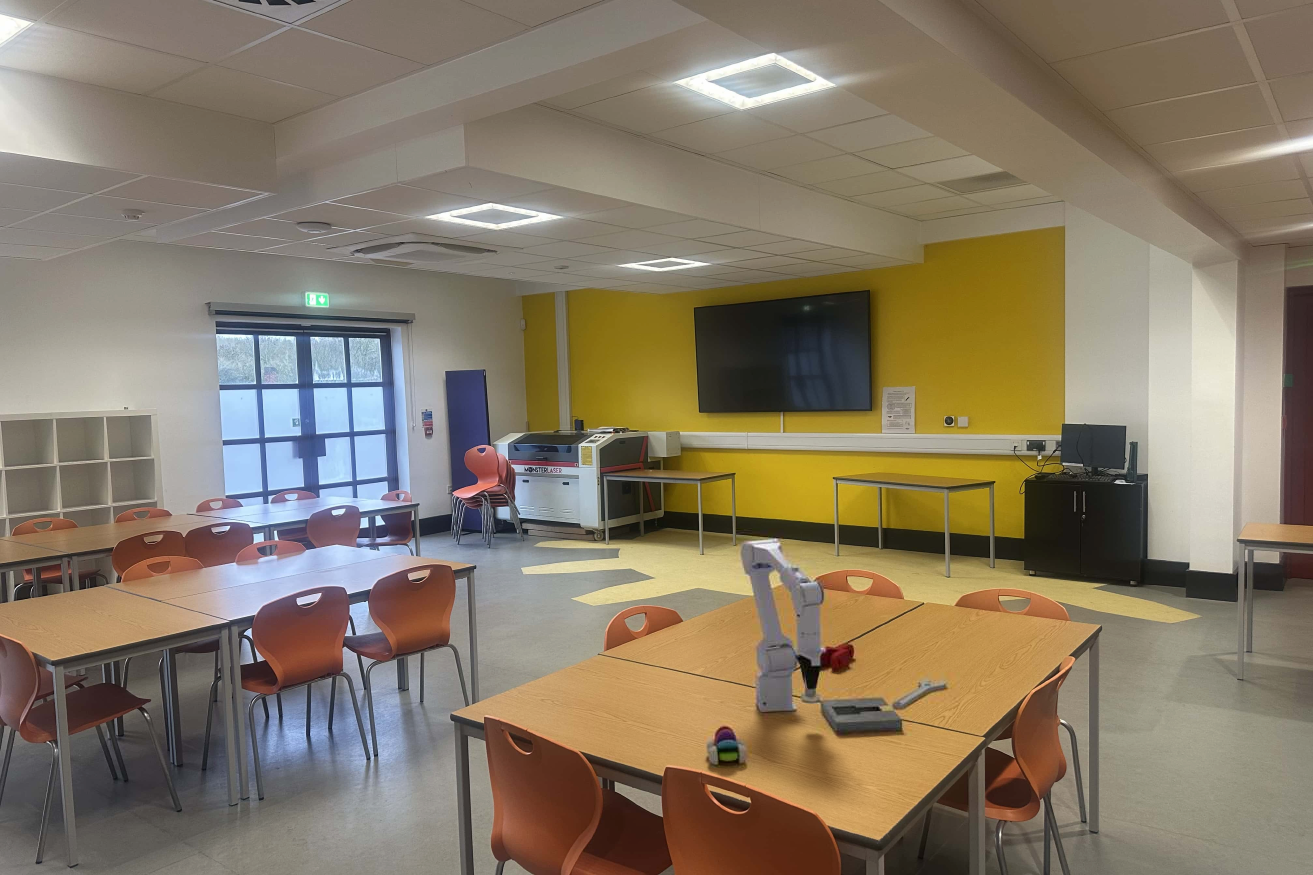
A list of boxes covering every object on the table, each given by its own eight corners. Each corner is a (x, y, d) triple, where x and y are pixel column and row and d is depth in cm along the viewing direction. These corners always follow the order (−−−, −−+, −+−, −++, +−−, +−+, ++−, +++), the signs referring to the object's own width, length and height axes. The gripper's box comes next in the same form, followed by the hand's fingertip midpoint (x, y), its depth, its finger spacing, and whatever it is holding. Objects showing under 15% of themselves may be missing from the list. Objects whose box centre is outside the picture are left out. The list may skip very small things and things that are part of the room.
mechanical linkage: (835, 672, 254) (835, 656, 254) (814, 668, 259) (814, 652, 259) (861, 659, 267) (860, 643, 266) (840, 656, 271) (840, 640, 271)
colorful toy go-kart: (742, 750, 199) (741, 719, 199) (748, 767, 190) (747, 735, 189) (706, 752, 199) (705, 721, 199) (710, 769, 189) (709, 737, 189)
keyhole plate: (836, 734, 207) (836, 722, 207) (820, 710, 223) (820, 700, 223) (902, 730, 207) (902, 719, 207) (881, 707, 223) (881, 697, 223)
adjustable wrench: (899, 711, 222) (899, 704, 222) (878, 706, 226) (878, 699, 226) (949, 687, 239) (949, 680, 239) (928, 682, 243) (928, 676, 243)
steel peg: (803, 703, 209) (802, 671, 209) (799, 697, 213) (798, 665, 213) (821, 702, 209) (820, 670, 209) (817, 696, 214) (816, 664, 213)
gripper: (832, 638, 204) (833, 695, 204) (817, 623, 218) (819, 676, 219) (802, 639, 203) (804, 696, 204) (790, 624, 218) (791, 677, 218)
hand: (810, 686), depth 211 cm, fingers closed on steel peg, 3 cm apart
